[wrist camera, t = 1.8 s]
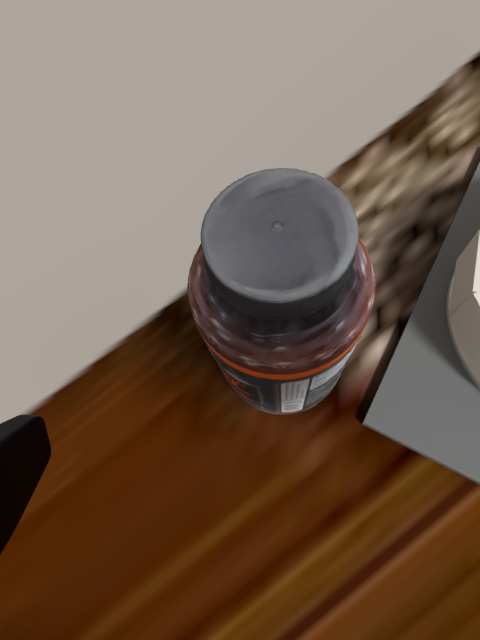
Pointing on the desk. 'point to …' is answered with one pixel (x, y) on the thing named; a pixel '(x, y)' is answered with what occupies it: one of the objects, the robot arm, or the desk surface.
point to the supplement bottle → (281, 287)
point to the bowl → (466, 309)
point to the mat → (434, 367)
